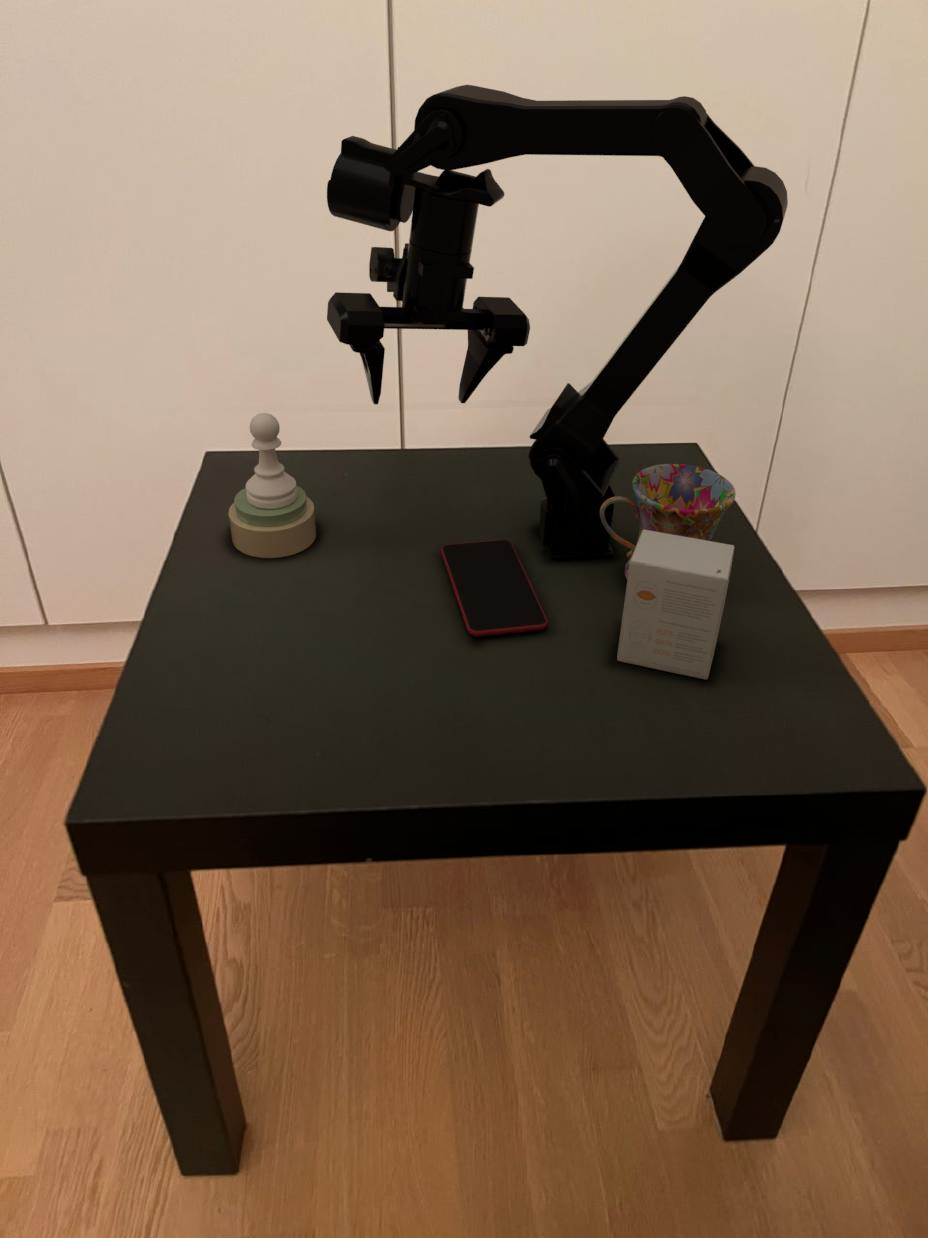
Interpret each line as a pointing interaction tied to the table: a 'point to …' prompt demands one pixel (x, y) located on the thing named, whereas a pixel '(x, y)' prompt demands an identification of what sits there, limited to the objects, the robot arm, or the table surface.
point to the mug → (676, 502)
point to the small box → (674, 603)
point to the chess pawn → (269, 467)
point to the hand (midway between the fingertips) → (418, 401)
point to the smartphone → (492, 588)
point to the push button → (272, 527)
